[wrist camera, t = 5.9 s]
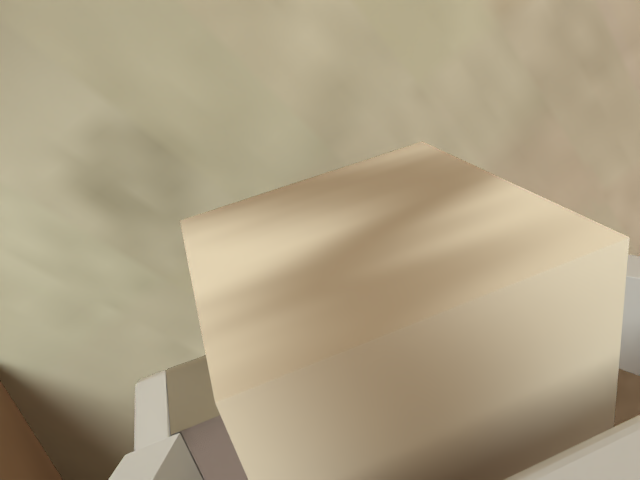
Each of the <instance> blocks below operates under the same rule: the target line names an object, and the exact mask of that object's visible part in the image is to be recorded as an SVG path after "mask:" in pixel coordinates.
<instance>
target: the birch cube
mask: <svg viewBox="0 0 640 480" xmlns="http://www.w3.org/2000/svg"><path fill="white" fill-rule="evenodd" d="M180 224H181V229H182V234H183V239H184V244H185V250H186V255H187V260H188V265H189V270H190V276H191V281H192V286H193V291H194V296H195V302H196V307H197V312H198V317H199V322H200V327H201V333H202V338H203V343H204V348H205V353H206V359H207V364H208V369H209V374H210V379H211V385H212V390H213V395H214V400H215V404H216V406H217V409H218V411H219V413H220V415H221V418H222V420H223V422H224V425H225V427H226V429H227V432H228V434H229V436H230V439H231V441H232V443H233V446H234V448H235V450H236V452H237V455H238V457H239V459H240V462H241V464H242V466H243V469H244V471H245V473H246V476H247V478H248V480H504V479H506V478H508V477H510V476H512V475H515V474H517V473H519V472H521V471H523V470H525V469H527V468H529V467H531V466H533V465H535V464H538V463H540V462H542V461H544V460H546V459H548V458H550V457H552V456H554V455H556V454H558V453H561V452H563V451H565V450H567V449H569V448H571V447H573V446H575V445H577V444H579V443H581V442H584V441H586V440H588V439H590V438H592V437H594V436H596V435H598V434H600V433H602V432H604V431H607V430H609V429H611V428H613V427H614V419H615V407H616V395H617V382H618V370H619V358H620V346H621V334H622V322H623V310H624V298H625V286H626V274H627V261H628V249H629V237H627V236H625V235H623V234H621V233H619V232H617V231H614V230H612V229H610V228H608V227H606V226H604V225H601V224H599V223H597V222H595V221H593V220H591V219H589V218H586V217H584V216H582V215H580V214H578V213H576V212H573V211H571V210H569V209H567V208H565V207H563V206H561V205H558V204H556V203H554V202H552V201H550V200H548V199H545V198H543V197H541V196H539V195H537V194H535V193H532V192H530V191H528V190H526V189H524V188H522V187H520V186H517V185H515V184H513V183H511V182H509V181H507V180H504V179H502V178H500V177H498V176H496V175H494V174H491V173H489V172H487V171H485V170H483V169H481V168H479V167H476V166H474V165H472V164H470V163H468V162H466V161H463V160H461V159H459V158H457V157H455V156H453V155H451V154H448V153H446V152H444V151H442V150H440V149H438V148H435V147H433V146H431V145H429V144H427V143H425V142H419V143H416V144H413V145H410V146H407V147H403V148H400V149H397V150H394V151H391V152H388V153H385V154H382V155H379V156H376V157H373V158H370V159H367V160H364V161H361V162H358V163H355V164H351V165H348V166H345V167H342V168H339V169H336V170H333V171H330V172H327V173H324V174H321V175H318V176H315V177H312V178H309V179H306V180H303V181H299V182H296V183H293V184H290V185H287V186H284V187H281V188H278V189H275V190H272V191H269V192H266V193H263V194H260V195H257V196H254V197H250V198H247V199H244V200H241V201H238V202H235V203H232V204H229V205H226V206H223V207H220V208H217V209H214V210H211V211H208V212H205V213H202V214H198V215H195V216H192V217H189V218H186V219H183V220H180Z"/></svg>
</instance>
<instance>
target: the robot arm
mask: <svg viewBox="0 0 640 480" xmlns="http://www.w3.org/2000/svg"><path fill="white" fill-rule="evenodd" d="M619 369H622V370H624V371H627V372H630V373H633V374H636V375H638V376H640V256H633V255H628V261H627V274H626V286H625V298H624V310H623V322H622V334H621V346H620V358H619ZM108 480H248V478H247V476H246V473H245V471H244V469H243V466H242V464H241V462H240V459H239V457H238V455H237V452H236V450H235V448H234V446H233V443H232V441H231V439H230V436H229V434H228V432H227V429H226V427H225V425H224V422H223V420H222V418H221V415H220V413H219V411H218V409H217V406H216V404H215V400H214V395H213V390H212V385H211V379H210V374H209V369H208V364H207V359H206V355H205V356H202V357H199V358H196V359H194V360H191V361H188V362H185V363H182V364H180V365H177V366H174V367H171V368H168V369H167V370H163V371H160V372H158V373H155V374H152V375H150V376H147V377H144V378H142V379H139V380H138V381H137V383H136V385H135V423H134V451H133V452H131V453H128V454H126V455H125V456H124V457H123V459H122V460H121V462H120V463H119V464H118V466H117V467H116V469H115V470H114V472H113V473H112V475H111V476H110V478H109V479H108ZM504 480H640V415H638V416H636V417H634V418H632V419H630V420H627V421H625V422H623V423H621V424H619V425H617V426H615V427H613V428H611V429H609V430H607V431H604V432H602V433H600V434H598V435H596V436H594V437H592V438H590V439H588V440H586V441H584V442H581V443H579V444H577V445H575V446H573V447H571V448H569V449H567V450H565V451H563V452H561V453H558V454H556V455H554V456H552V457H550V458H548V459H546V460H544V461H542V462H540V463H538V464H535V465H533V466H531V467H529V468H527V469H525V470H523V471H521V472H519V473H517V474H515V475H512V476H510V477H508V478H506V479H504Z"/></svg>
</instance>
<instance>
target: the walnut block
mask: <svg viewBox="0 0 640 480" xmlns="http://www.w3.org/2000/svg"><path fill="white" fill-rule="evenodd" d="M0 480H63V479H62V478H61V476H60V474H59V473H58V471H57V470H56V468H55V466H54V465H53V463H52V462H51V460H50V459H49V457H48V455H47V454H46V452H45V451H44V449H43V447H42V446H41V444H40V443H39V441H38V440H37V438H36V436H35V435H34V433H33V432H32V430H31V428H30V427H29V425H28V424H27V422H26V421H25V419H24V417H23V416H22V414H21V413H20V411H19V409H18V408H17V406H16V405H15V403H14V402H13V400H12V398H11V397H10V395H9V394H8V392H7V390H6V389H5V387H4V386H3V384H2V383H1V381H0Z"/></svg>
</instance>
